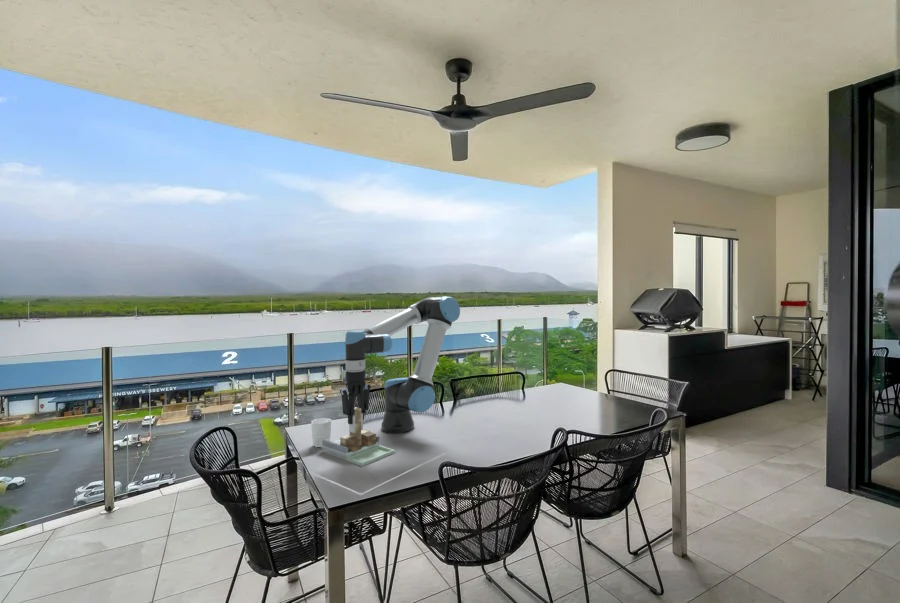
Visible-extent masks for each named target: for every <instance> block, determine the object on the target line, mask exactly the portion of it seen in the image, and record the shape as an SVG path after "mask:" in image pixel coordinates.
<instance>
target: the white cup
mask: <svg viewBox="0 0 900 603" xmlns="http://www.w3.org/2000/svg"><path fill="white" fill-rule="evenodd" d="M310 422H311V435H312V436H311V438H312V446H313V447H314V446H315V447H314V448H317V447H321V448H322V440H324V439H325V440H328V441H331V437H332V436H331V435H332V419H331V418H329V417H321V418H316V419H315V418H314V419H312V420H311V421H310Z"/></svg>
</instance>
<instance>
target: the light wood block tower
mask: <svg viewBox="0 0 900 603" xmlns="http://www.w3.org/2000/svg"><path fill="white" fill-rule="evenodd" d="M353 415H355V433H352V432H349V434H346V435H343V436H341V437H340V438H339V439H340V445H343V446H346V439H348V438H351V437H354V436H356V437H359V438H361V434H363V433H366V432H369V431H370V430H368V429H363V430H361V408H358V406H354V413H353Z"/></svg>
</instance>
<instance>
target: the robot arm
mask: <svg viewBox="0 0 900 603" xmlns="http://www.w3.org/2000/svg"><path fill="white" fill-rule="evenodd" d="M460 314H461V308H460V304H459V302H458V301H457V300H456V299H455V298H454V297H452V296H445V295H443V296H428V297H426V298H423V299H421V300H419V301H417V302H414V303H413V304H411V305H408V307H407V308H406V309H405V310H404V311H402V312H399V313H397V314H395V315H394V316H392V317H388V318H387V319H385V320H383V321H382V322H379V323H377V324H375V325H374V326H371V327H369V328H366V329H365V330H348V331H347V332H345V338H344V339H345V340H344V341H345V342H344V345H345V370H346V372H345V381H346V384H345V387H344V388H343V389H342V388H341V389H340V390H339V393H340V395H341V404H342V414H343V415H346V416H347V423H348V429H349V433H350V432H352V433H355V415H353V413H354V408H355V403H356V401H357V407H358V408H361V431H362V430H364V421H365V414H366V412H367V411H369V405H370V390H371V389H372V388H371V387H372V385H371V384H367V383H366V381H365V380H366V370H365V369H366V355H370V354H379V353H387V352H390V351H391V349H392V347H393V341H392V337H391V336H393V335H395V334H396V333H399V332H401V331H404V330H405V329H407V328H408V327H410V326H412V325H418V324H421V323H423V322H427V324H428V327H427V330H426V333H425V335H424V339H423V343H422V346H421V349H420V351H419V355H418V358H417V361H416V364H415V366H414V367H415V368H414V370H413V374H411V375H410V376H408V377H397V378H396V377H395V378H391V379H387V380H386V381H385V382H384V389H383V390H384V415H383V418H382V419H383V420H382V422H381V425H380V426H381V427H380V428H381V431H382V432H385V433H389V434H390V433H391V434H402V433H406V432H410V431H412V430H413V429H414V428H415V421H414V419H413V416H412V413H411V412H413V413H419V414H420V413H425V412H427V411H428V410H430V409H431V407H432V406H433V405H434V402H435V400H436V394H435V390H434V388H433V387H434V383H433V380H432V379H433V375H434V372H435V369H436V366H437V362H438V359H439V355H440V353H441V349H442V346H443V342H444V338H445V335H446V332H447V330H450V329H451V327H452V324H453V323H454V322H456V321H457V320H458V319H459V318H460ZM401 432H402V433H401Z"/></svg>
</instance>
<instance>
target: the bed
mask: <svg viewBox="0 0 900 603" xmlns="http://www.w3.org/2000/svg"><path fill="white" fill-rule="evenodd" d="M378 445H380V436H379V435H377V434H376V444H374V445H371V446H369V447H367V446H365V445H362V444H361V449H360V450H357V451H355V452H351V451H349V450H348V447H346V446H343V445H340V438H339V439H336V440H334V441H332V440H330V441H328V440H325V439H324V440H322V447H321V448H322V452H323V453H326V454H328V455H330V456H333V457H336V458H339V459H340V460H344V461H346V458H347V457H349V456H352V455H354V454H357V453H360V452H362V451H365V450H368V449H370V448H373V447H375V446H378Z"/></svg>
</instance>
